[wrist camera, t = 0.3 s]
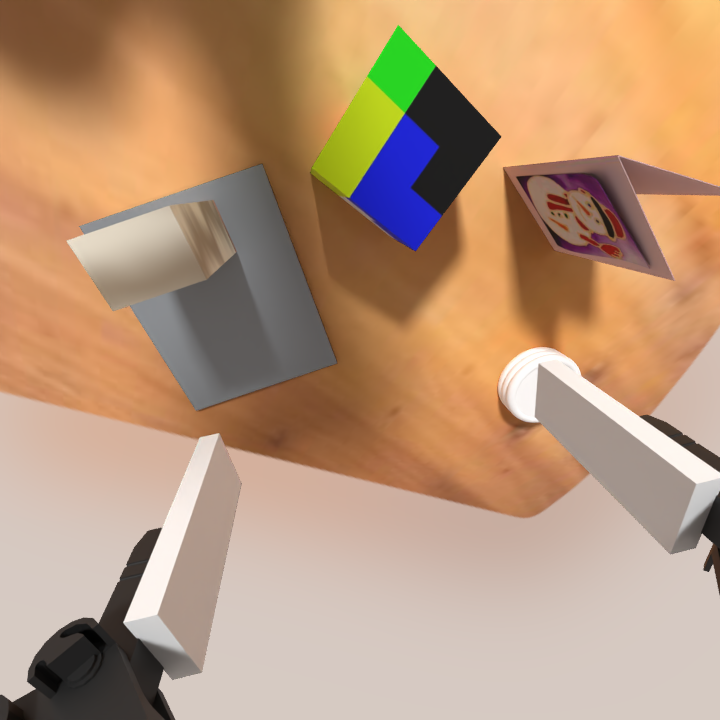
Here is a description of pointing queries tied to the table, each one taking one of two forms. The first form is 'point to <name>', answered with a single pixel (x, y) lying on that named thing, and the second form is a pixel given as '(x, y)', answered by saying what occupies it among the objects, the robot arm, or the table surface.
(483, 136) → the puzzle toy
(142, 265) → the birch block
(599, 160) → the greeting card
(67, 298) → the table surface
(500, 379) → the white round disc stack
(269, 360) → the slate mat
